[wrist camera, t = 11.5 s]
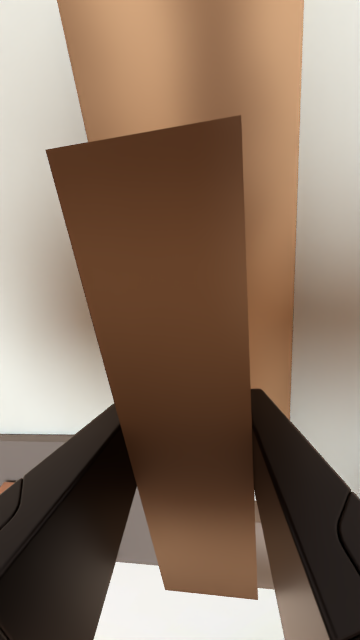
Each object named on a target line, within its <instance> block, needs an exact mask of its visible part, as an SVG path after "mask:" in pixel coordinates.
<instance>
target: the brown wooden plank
mask: <svg viewBox="0 0 360 640" xmlns="http://www.w3.org/2000/svg"><path fill="white" fill-rule="evenodd" d="M46 153H47V157H48V161H49V164H50V168H51V172H52V175H53V179H54V183H55V186H56V190H57V194H58V197H59V201H60V205H61V208H62V212H63V216H64V219H65V223H66V227H67V230H68V234H69V238H70V241H71V245H72V249H73V252H74V256H75V260H76V264H77V267H78V271H79V275H80V278H81V282H82V286H83V289H84V293H85V297H86V300H87V304H88V308H89V311H90V315H91V319H92V322H93V326H94V330H95V333H96V337H97V341H98V344H99V348H100V352H101V355H102V359H103V363H104V366H105V370H106V374H107V377H108V381H109V385H110V388H111V392H112V396H113V399H114V403H115V407H116V410H117V414H118V418H119V422H120V425H121V429H122V433H123V436H124V440H125V444H126V447H127V451H128V455H129V458H130V462H131V466H132V469H133V473H134V477H135V480H136V484H137V488H138V491H139V495H140V499H141V502H142V506H143V510H144V513H145V517H146V521H147V524H148V528H149V532H150V535H151V539H152V543H153V546H154V550H155V554H156V557H157V561H158V565H159V569H160V572H161V576H162V580H163V583H164V587H165V590H171V591H180V592H189V593H199V594H208V595H217V596H226V597H236V598H245V599H254V600H258V590H257V588H265V589H274V584H273V579H272V574H271V569H270V564H269V559H268V555H267V550H266V545H265V540H264V535H263V530H262V525H261V520H260V515H259V511H258V506H257V501H254V473H253V444H252V414H251V385H250V356H249V327H248V298H247V268H246V239H245V210H244V181H243V152H242V122H241V115H238V116H232V117H227V118H221V119H215V120H210V121H204V122H199V123H193V124H187V125H182V126H176V127H171V128H165V129H159V130H154V131H148V132H143V133H137V134H132V135H126V136H120V137H115V138H109V139H104V140H98V141H92V142H87V143H81V144H76V145H70V146H64V147H59V148H53V149H48V150H46Z"/></svg>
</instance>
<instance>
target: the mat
mask: <svg viewBox="0 0 360 640" xmlns="http://www.w3.org/2000/svg"><path fill="white" fill-rule="evenodd" d="M73 436H74V435H0V487H1V486H2V484H3V483H4V482H13V483H15V482H16V481H18V480H19V479H20V478H23V477H24V475H25V474H26V473H28V472H29V471H30V470H31V469H33V468H34V467H35V466H36V465H38V464H39V463H40V462H41V461H43V460H44V459H45V458H46V457H48V456H49V455H50V454H51V453H53V452H54V451H55V450H56V449H58V448H59V447H60V446H61V445H63V444H64V443H65V442H66V441H68V440H69V439H70V438H71V437H73ZM116 562H125V563H136V564H147V565H158V561H157V557H156V554H155V550H154V546H153V543H152V539H151V535H150V532H149V528H148V524H147V521H146V517H145V513H144V510H143V506H142V502H141V499H140V495H139V491H138V488H136V492H135V495H134V499H133V502H132V506H131V509H130V513H129V516H128V520H127V523H126V527H125V530H124V534H123V537H122V541H121V544H120V548H119V552H118V555H117V559H116ZM158 566H159V565H158Z"/></svg>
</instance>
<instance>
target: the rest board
mask: <svg viewBox="0 0 360 640" xmlns="http://www.w3.org/2000/svg"><path fill="white" fill-rule="evenodd" d="M57 3H58V7H59V12H60V16H61V21H62V25H63V30H64V34H65V39H66V43H67V48H68V53H69V57H70V62H71V66H72V71H73V75H74V80H75V84H76V89H77V93H78V98H79V103H80V107H81V112H82V116H83V121H84V125H85V130H86V134H87V139H88V142H92V141H98V140H104V139H109V138H115V137H120V136H126V135H132V134H137V133H143V132H148V131H154V130H159V129H165V128H171V127H176V126H182V125H187V124H193V123H199V122H204V121H210V120H215V119H221V118H227V117H232V116H238V115H241V122H242V152H243V181H244V210H245V239H246V268H247V298H248V327H249V356H250V385H251V389H254V388H260V389H262V390H263V391H264V392H265V393H266V394H267V395H268V396H269V398H270V399H271V400H272V401H273V402H274V403H275V404H276V405H277V407H278V408H279V409H280V410H281V411H282V412H283V413H284V414H285V416H286V417H287V418H288V419H289V420H290V394H291V364H292V335H293V305H294V275H295V245H296V216H297V186H298V156H299V127H300V97H301V67H302V37H303V8H304V0H57Z"/></svg>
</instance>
